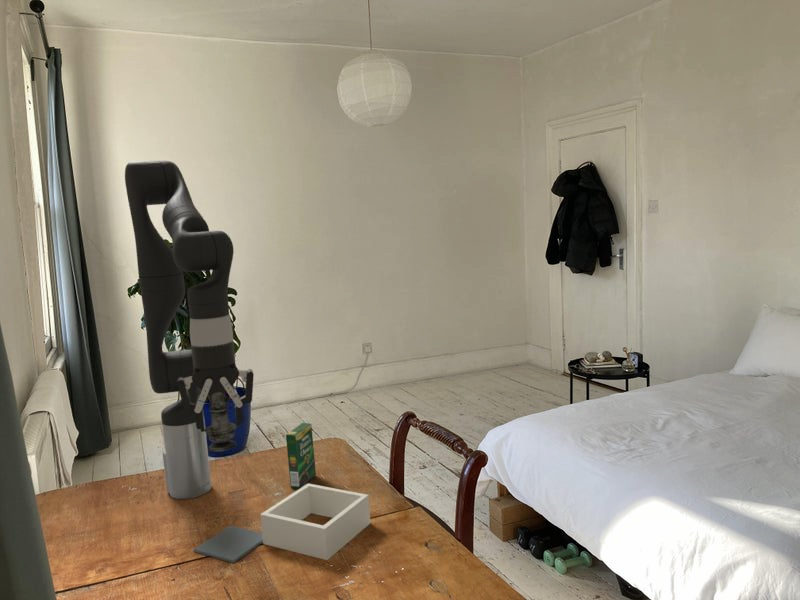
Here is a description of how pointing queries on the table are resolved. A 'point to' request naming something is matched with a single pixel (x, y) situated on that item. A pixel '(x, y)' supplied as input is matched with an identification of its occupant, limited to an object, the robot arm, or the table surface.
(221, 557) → the mat
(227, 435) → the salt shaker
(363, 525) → the frame
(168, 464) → the robot arm
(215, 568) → the table surface
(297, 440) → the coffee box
